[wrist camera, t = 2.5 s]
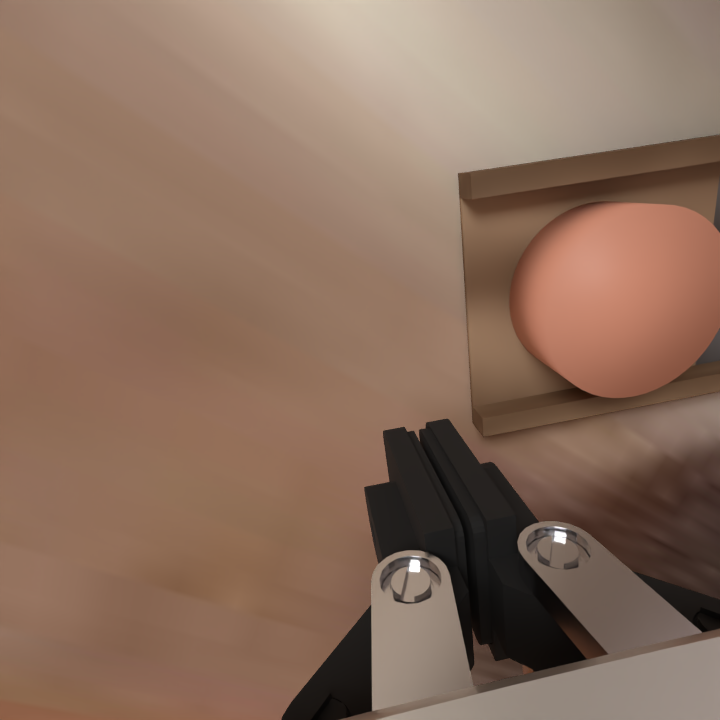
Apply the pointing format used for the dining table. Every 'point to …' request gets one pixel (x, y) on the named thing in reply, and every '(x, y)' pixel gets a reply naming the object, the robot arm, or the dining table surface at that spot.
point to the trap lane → (512, 236)
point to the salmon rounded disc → (619, 295)
